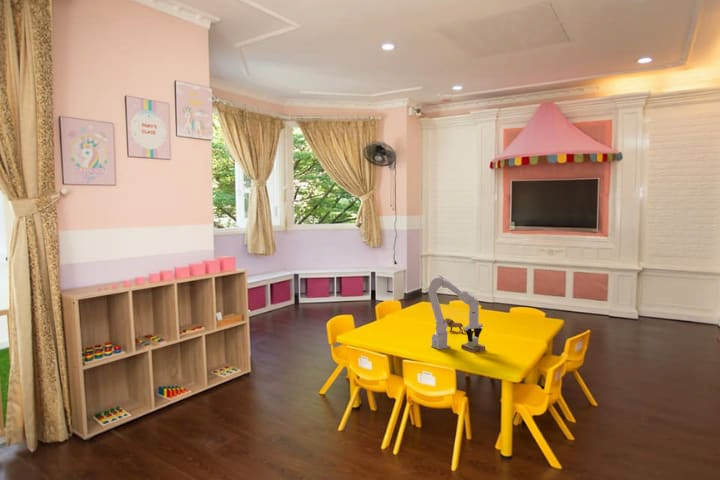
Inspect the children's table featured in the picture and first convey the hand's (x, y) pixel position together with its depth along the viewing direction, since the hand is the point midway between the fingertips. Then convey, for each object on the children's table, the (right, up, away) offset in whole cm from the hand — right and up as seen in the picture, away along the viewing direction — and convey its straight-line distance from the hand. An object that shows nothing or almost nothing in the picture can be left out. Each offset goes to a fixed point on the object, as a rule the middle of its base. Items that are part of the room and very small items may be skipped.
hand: (473, 340), depth 272 cm
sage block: (0, -3, 0) cm, 3 cm away
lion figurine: (-3, -3, +38) cm, 39 cm away
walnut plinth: (0, -6, 0) cm, 6 cm away
